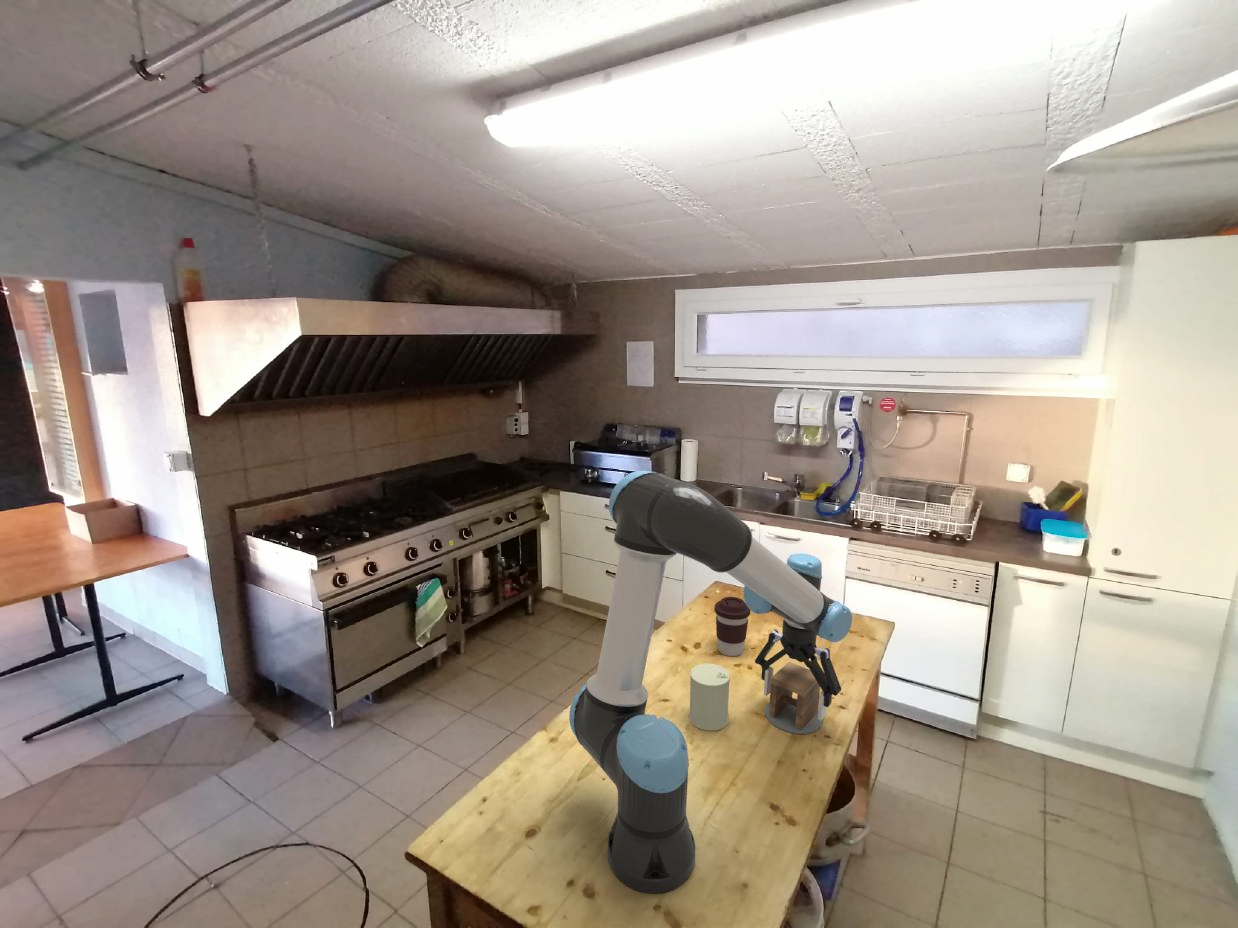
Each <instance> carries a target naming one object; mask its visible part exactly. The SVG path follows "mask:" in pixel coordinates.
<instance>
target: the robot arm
mask: <svg viewBox="0 0 1238 928" xmlns="http://www.w3.org/2000/svg"><path fill="white" fill-rule="evenodd" d="M608 512H609V515H610V516H611V518H612V521H613V522H614V523H615V524H616V527H615V533H614V539H613V543H614V545H615V546H616V547H617V549H618V550H619V556H618V562H617V565H616V572H615V576H614V582H613V587H612V594H611V598H610V603H609V608H608V612H607V618H606V623H605V629H604V634H603V635H604V636H603V639H602V644H601V651H600V655H599V661H598V665H597V671H596V673H595V674H593V675H592V676H590V677H589V678H588V679H587V682H586V683H585V684H584V685H583V686H582V687H581V688H580V689H579V690H580V692H579V693H576V694H575V696H574V697H573V699H572V702H571V704H570V708H569V709H570V710H569V716H568V717H569V724H570V729H571V730H572V733H573V735H574V736H575V738H576V740H577V742H578V743H579V745H580V746H581V747H583V749H584V750H585V751H586V752H587V753H588V754H589V755H590V756H591V758H592V759H593V760H594V761H595V762H596V764H597V765H598V766H599V767H600V768H601V770H602V771H603V772H604V773H605V774H606V775H607V777H608V778H609V779H610V780H611V782H612V783H613V784H614V785H615V787H616V790H617V814H616V816H615V818H614V820H613V821H614V822H613V824H612V825H611V829H610V831H609V834H608V840H607V859H608V864H609V866H610V869H611V871H612V873H613V874H614V876H615V877H616V878H617V879H618V880H619V881H620V882H621V883H622V884H623V885H625V886H627V887H628V888H630V889H633V890H635V891H637V892H641V893H647V894H661V893H662V894H663V893H667V892H670V891H672V890H675V889H676V888H678V887H680V886H681V885H683V884H684V882H686V881H687V880H688V878H690V875H691V874H692V872H693V870H694V868H695V862H696V843H695V842H696V841H695V838H694V835H693V832H692V830H691V828H690V823H689V821H688V818H687V799H688V798H687V797H688V779H689V778H688V776H689V767H690V763H689V761H690V760H689V754H688V744H687V740H686V737H685V736H684V734H683V733H682V731H681V730H680V728H678V726H677V725H676V724H674V722H672V721H671V720H669V719H667V718H665V717H662V716H660V718H657V715H655V714H650V713H649V714H648V713H647V714H646V713H645V712H646V707H647V703H648V696H649V692H648V690H647V688H646V687H645V686H644V684H643V681H644V680H643V679H644V676H645V675H644V674H645V669H646V665H647V662H648V661H647V660H648V655H649V651H650V645H651V641H652V640H651V639H652V636H653V635H652V634H653V631H654V624H655V622H656V621H655V620H656V615H657V611H658V605H659V601H660V595H661V592H662V591H661V590H662V586H663V585H662V584H663V580H664V576H665V570H666V565H667V562H668V560H670V559H673V557H675V556H676V555H677V554H679V555H681V556H684V557H687V558H688V559H691V560H693V561H696V562H697V563H700V564H702V565H704V566H706V567H707V568H709V569H711V570H712V571H713V572H716V573H719V574H720V573H721V574H723V573H724V574H725V573H726V574H728V575H729V576H731V577H732V578H734V579H735V580H736V581H738V582H739V583H741V584H742V585H743V601H744V602H745V603H746V605H747V606H748V608H749V609H750V612H752V613H754V614H757V615H762V614H768V613H770V612H772V613H773V614H775V615H778V616H779V617H782V618H783V621H782V632H781V633H782V634H781V633H779V631H778V629H774V630H773V631H772V632H770V633H769V634H768V639H767V641H766V643H765V645H764V646H763V648H762V649H761V651H760V652H759V653H758V654H757V657H756V658H755V660H754V663H755V664H756V665H759V666H760V667H761V680H762V681H763V682H764V683H763V695H764V696H765V697H767V696H768V695H770V689H771V677H772V676H773V675H774V666H772V665H774V663H776V662H777V661H779V660H780V659H781V658H783V657H785V656H786V655H787V656H788V658H789V659H791V660H795V661H798V662H800V663H804V665H805V667H806V668H807V669H809V670H810V671H811V672H812V674H813V676H814V677H815V679H816V681H817V682H818V684H819V686H820V689H821V691H820V694H819V706H818V710H819V713H818V719H819V720H822V719H823V720H824V719H825V717H826V716H827V709H828V708H829V707H830V705H831V704H832V700H833V699H832V698H833V696H834V697H836V696H837V695H839V694H840V692H841V691H842V687H841V684H840V681H839V678H838V676H837V673H836V670H835V668H834V665H833V662H832V660H831V650H830V649H829V648H828V647H825V648H824V649H823V648H820V647H818V646H817V643H816V642H817V639H818V638H817V636H818V637H819V638H821V639H824V640H826V641H829V642H831V643H838V642H841V641H842V640H844V639H845V638H846V637H847V635H848V633H849V632H850V630H851V628H852V624H853V615H852V611H851V609H850V608H849V607H848V606H846V605H845V604H842V603H840V602H839V601H838V600H834V599H832V598H830V597H829V596H827V595H825V594H824V593H823V592H822V591H821V585H822V579H823V575H822V571H823V570H822V568H823V566H822V561H821V560H820V558H818V557H816V556H815V555H812V554H808V553H793V554H790V555H789V557H787V559H786V563H785V562H784V561H783V560H782V559H780V558H779V557H778V556H777V555H775V554H774V553H773V552H772V551H771V550H769V549H768V548H767V547H766V546H764V545H763V544H762V543H760V542H759V541H758V540H757V539H756V538H755V537H754V536H753V532H752V531H751V528H750V527H749V525H748V524H746V523H745V522H744V521H743V520H742V519H740V518H739V517H738V516H736V514H735V513H733V512H732V511H731V510H730V509H729V508H727V507H726V506H725V505H724V504H723V503H721V501H719V500H717V499H716V498H715V497H714V496H712V495H711V494H710V493H708V492H707V491H705V490H704V489H702V488H700V487H698V486H696V485H695V484H691V483H687V482H684V481H681V480H679V479H676V478H673V477H670V476H667V475H665V474H663V473H660V472H656V471H651V470H650V471H649V470H636V471H633V472H630V473H628V474H627V475H625V476H624V477H623V478H622V479H620V480H619V481H618V482H617V483H616V485H615V486H614V487H613V489H612V491H611V493H610V496H609V500H608ZM779 641H780V644H781V645H782V649H781V650H780V651H778V652H777V653H775V654H774V655H772V657H770V658H769V659H766V657H767V656H768V654H770V651H771V650H772V649H773V647H774V646H775V644H776V643H778V642H779ZM816 655H817V657H816ZM818 660H820V664H821V666H820V664H819V661H818Z"/></svg>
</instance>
